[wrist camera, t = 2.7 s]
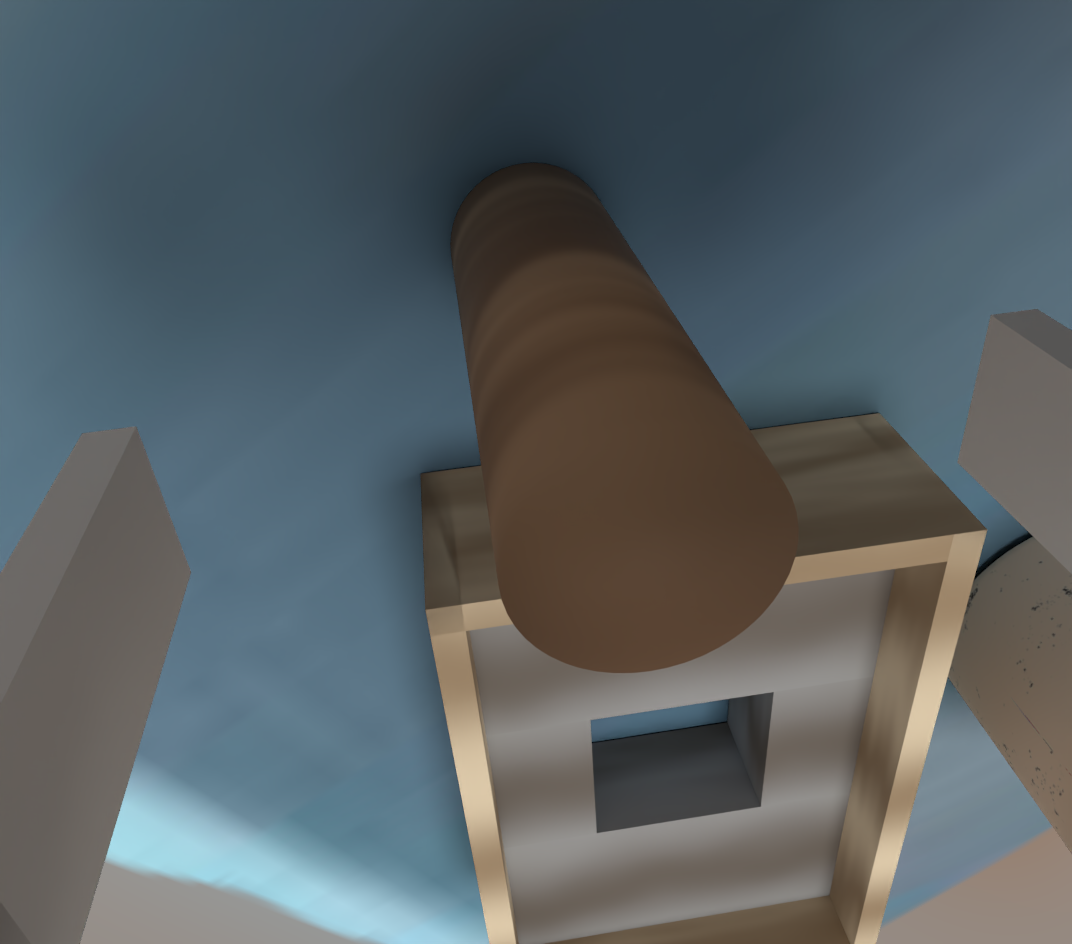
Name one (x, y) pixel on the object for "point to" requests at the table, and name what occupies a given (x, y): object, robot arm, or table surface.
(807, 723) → the box with hole
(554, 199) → the peg
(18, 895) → the robot arm
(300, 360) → the table surface
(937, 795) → the table surface
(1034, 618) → the teacup with lid
